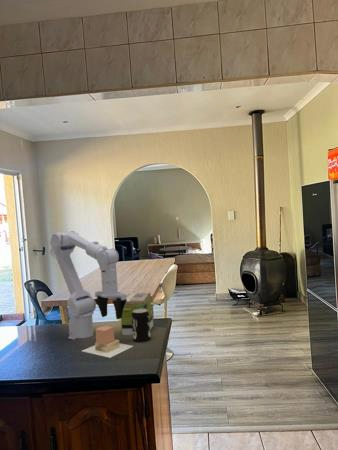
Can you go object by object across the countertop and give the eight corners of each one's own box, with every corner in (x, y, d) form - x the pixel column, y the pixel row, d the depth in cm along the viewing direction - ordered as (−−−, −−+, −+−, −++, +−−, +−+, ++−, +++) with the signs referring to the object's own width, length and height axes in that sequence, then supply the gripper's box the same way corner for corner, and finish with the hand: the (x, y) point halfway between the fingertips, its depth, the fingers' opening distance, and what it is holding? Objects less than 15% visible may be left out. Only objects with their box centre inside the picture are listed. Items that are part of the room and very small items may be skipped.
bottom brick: (95, 349, 129) (95, 342, 129) (107, 344, 134) (107, 337, 134) (107, 352, 126) (107, 345, 126) (119, 347, 131) (119, 340, 131)
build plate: (81, 353, 129) (81, 350, 129) (105, 343, 139) (105, 340, 139) (110, 360, 121) (110, 357, 121) (133, 348, 131) (133, 346, 131)
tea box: (131, 326, 159) (128, 292, 159) (153, 326, 158) (151, 291, 157) (121, 338, 144) (119, 300, 144) (146, 337, 143) (144, 299, 143)
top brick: (96, 343, 129) (95, 329, 129) (105, 339, 133) (104, 325, 132) (105, 345, 126) (104, 330, 126) (114, 341, 130) (113, 327, 130)
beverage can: (148, 345, 134) (146, 312, 134) (131, 345, 135) (128, 312, 135) (152, 339, 140) (150, 308, 140) (136, 339, 142) (134, 308, 142)
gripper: (88, 282, 139) (90, 318, 139) (116, 284, 130) (118, 322, 131) (101, 279, 144) (103, 313, 145) (129, 280, 136) (131, 317, 136)
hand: (111, 317), depth 138 cm, fingers open, 7 cm apart
